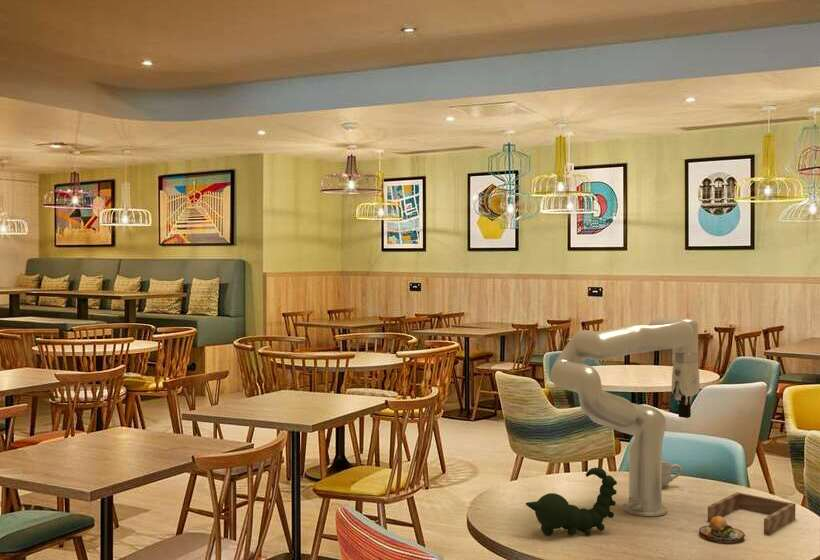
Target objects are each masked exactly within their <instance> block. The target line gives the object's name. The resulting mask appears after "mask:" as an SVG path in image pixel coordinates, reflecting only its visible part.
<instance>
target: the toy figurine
mask: <svg viewBox="0 0 820 560" xmlns="http://www.w3.org/2000/svg"><path fill="white" fill-rule="evenodd" d="M592 475H594V476H597V477H598V479H600V480H601V483H602V484H601V485H600V486H599V494H598V495H597V497H596V502H595V503H594V504H593V505H592V507H591V508H580V507H578V506H576V505H575V504H569V501H567V499H566V498H565V497H564V496H563V495H561V494H558V493H555V492H552V493H551V492H550V493H546V494H543V495H542V496H541V497H539V499H538V500H536V501H530V502H529V501H528V502H526V503H525V505H526V506H527V507H528V508H530V509H531V510H532V511H534V513H535V517H536V520H537V522H538V523H539V524H540V525H541V526H540V531H541V532H542V534H544V536H547V537H549V536H551V535H552V534H554V530H558V529H563V530H565V531H567V533H568V534H569V535H570V536H574V535H576V534H577V531H579V532H583V534H584V535H585V536H590V535H591V533H592V529H593V528H596V529H597V530H598V531H601V532H602V531H604V530H605V524H604V523H603V522H604V519H606V518H607V517H608V518H609V519H613V518H614V516H615V513H614V512H613V511H611V508H610V507H611V506H612V507H614V506H616V501H615V500H614V499H613V496H615V495H617V489H615V488H614V486H616V485H617V484H618V481H617V480H615V478H614V477H613V476H612V475H609V474H608V475H607V471H606V470H605V469H603V468H602V467H592V468H590V469H588V471H586V473H585V477H586V478H587V477H589V476H592Z"/></svg>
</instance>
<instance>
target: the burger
mask: <svg viewBox="0 0 820 560" xmlns="http://www.w3.org/2000/svg"><path fill="white" fill-rule="evenodd" d="M714 514H715V513H714ZM727 523H728V522H727V520H726V518H724V516H723V517H721V516H715V517H713V518H712V519H711V520H710V522H709V524H708V525H703V526H701V527H699V529H698V530H699V531H698V535H699V538H701V539H703V540H704V541H707V542H710V543H713V544H720V545H721V544H722V545H733V544H742V543H744V540H745V536H746V534H745V533H744V531H742V530H740V529H738V528H737V527H733V526H731V525H729V524H727Z"/></svg>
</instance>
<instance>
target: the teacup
mask: <svg viewBox="0 0 820 560" xmlns="http://www.w3.org/2000/svg"><path fill="white" fill-rule="evenodd" d="M675 468H677V469H678V471H677V473H675V474H674V475H672V472H673V469H675ZM682 471H683V470H682V467H681V465H679V464H678V463H677V464H676V463H674V464H672V463H671V462H670V461H669V462H668V461H664V460H662V488H666V486H667V485H668V484H670V483H671V482H673V480H675V479H676V478H678V477H679V476H680V475H681V474H682Z"/></svg>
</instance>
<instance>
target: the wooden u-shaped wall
mask: <svg viewBox="0 0 820 560" xmlns="http://www.w3.org/2000/svg"><path fill="white" fill-rule="evenodd" d="M738 509H740V510H744V511H749V512H753V511H754V512H755V513H758V512H759V513H758V514H763V515H767V516H765V517H764V518H763V535H764V536H771V535H772V534H773V533H775V532H776V531H778V530H779V529H781V528H783V527H784V526H786V525H788V524H789V523H791V522H793V521H795V520H796V503H793V502H788V501H783V500H777V499H773V498H767V497H763V496H758V495H754V494H747V493H742V492H737V491H736V492H735V493H732V494H730V495H729V496H727V497H724V498H722V499H720V500H718V501H716V502H714V503H712V504H710V505H708V506H707V522H708V523H710V520H711V519H712V518H713V517H715V516H721V517H723V518H724V517H725V516H727V515H730V514H731V513H733V512H735V511H737V510H738ZM754 512H753V513H754ZM714 513H715V514H714Z"/></svg>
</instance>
